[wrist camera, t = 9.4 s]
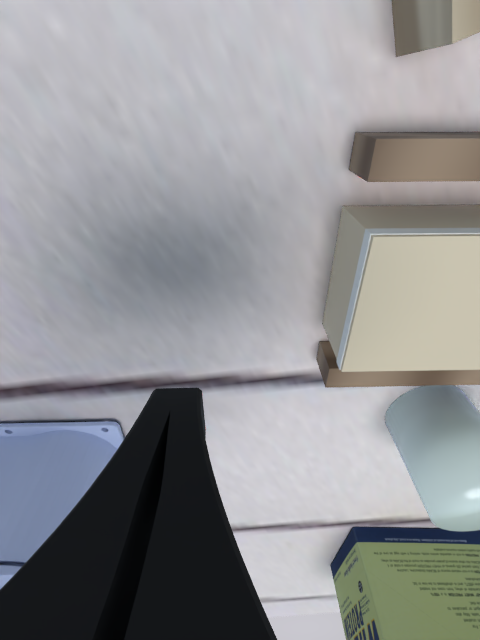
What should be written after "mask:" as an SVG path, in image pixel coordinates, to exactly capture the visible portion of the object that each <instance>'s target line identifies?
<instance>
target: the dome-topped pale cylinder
mask: <svg viewBox="0 0 480 640" xmlns="http://www.w3.org/2000/svg"><path fill="white" fill-rule="evenodd" d="M385 423H386V426H387V428H388V430H389V432H390V434H391V436H392V439H393V441H394V443H395V445H396V447H397V449H398V451H399V453H400V456H401V458H402V460H403V462H404V464H405V466H406V468H407V470H408V473H409V475H410V477H411V479H412V481H413V483H414V485H415V487H416V490H417V492H418V494H419V496H420V498H421V500H422V502H423V504H424V507H425V509H426V511H427V513H428V515H429V517H430V519H431V521H432V523H433V524H434V525H435V526H437V527H439V528H441V529H444V530H449V531H476V530H480V412H479V411H478V409H477V408H476V407H475V406H474V404H473V403H472V402H471V401H470V399H469V398H468V397H467V395H466V394H465V393H464V392H463V391H462V390H461V389H460V388H458V387H456V386H453V385H430V386H421V387H418V388H415V389H413V390H410V391H408V392H407V393H405V394H403V395H402V396H400V397H399V398H397V399H396V400H395V401H394V402H393V403H392V404H391V405H390V407H389V408H388V410H387V412H386V415H385Z"/></svg>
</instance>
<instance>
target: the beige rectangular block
mask: <svg viewBox="0 0 480 640" xmlns="http://www.w3.org/2000/svg"><path fill="white" fill-rule="evenodd" d="M322 324H323V326H324V329H325V331H326V334H327V336H328V339H329V341H330V344H331V346H332V349H333V351H334V354H335V356H336V359H337V361H336V362H337V365H338V367H339V370H341V371H342V372H364V371H428V370H480V205H394V206H342V211H341V217H340V223H339V229H338V235H337V240H336V246H335V252H334V258H333V264H332V270H331V275H330V281H329V287H328V293H327V299H326V305H325V310H324V316H323V322H322Z"/></svg>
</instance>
